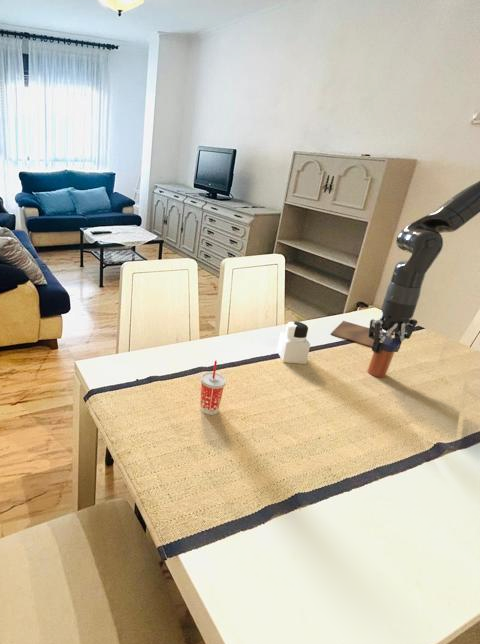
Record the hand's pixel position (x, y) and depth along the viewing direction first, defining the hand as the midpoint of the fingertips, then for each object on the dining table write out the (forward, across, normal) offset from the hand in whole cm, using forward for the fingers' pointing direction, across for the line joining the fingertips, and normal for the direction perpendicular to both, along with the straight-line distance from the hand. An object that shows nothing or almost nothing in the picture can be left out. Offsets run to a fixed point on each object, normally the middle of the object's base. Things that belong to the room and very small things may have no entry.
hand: (384, 351), depth 113 cm
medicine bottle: (+8, +21, -13) cm, 26 cm away
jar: (+8, 0, 0) cm, 8 cm away
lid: (-3, 0, 0) cm, 3 cm away
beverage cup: (+8, +58, +8) cm, 59 cm away
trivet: (+8, -15, -24) cm, 29 cm away
